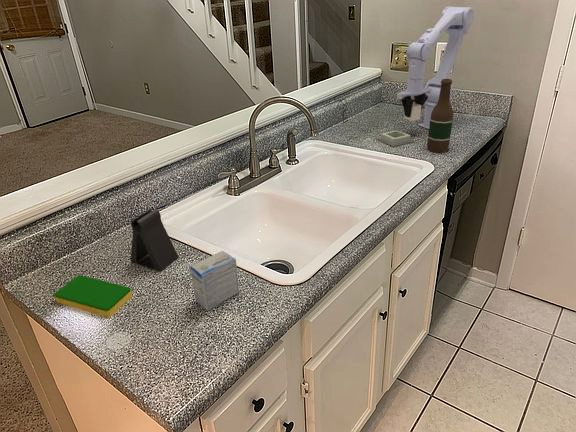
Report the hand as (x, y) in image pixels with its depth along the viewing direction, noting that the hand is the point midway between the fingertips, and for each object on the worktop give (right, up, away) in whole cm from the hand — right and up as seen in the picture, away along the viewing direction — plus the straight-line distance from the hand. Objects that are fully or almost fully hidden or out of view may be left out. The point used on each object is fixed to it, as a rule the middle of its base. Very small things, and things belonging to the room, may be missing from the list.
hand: (412, 115), depth 167 cm
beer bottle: (+6, -14, -9) cm, 18 cm away
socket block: (-6, -9, 0) cm, 11 cm away
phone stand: (-77, -48, -64) cm, 111 cm away
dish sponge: (-86, -55, -75) cm, 126 cm away
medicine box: (-60, -54, -77) cm, 111 cm away
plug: (0, -2, +1) cm, 2 cm away
